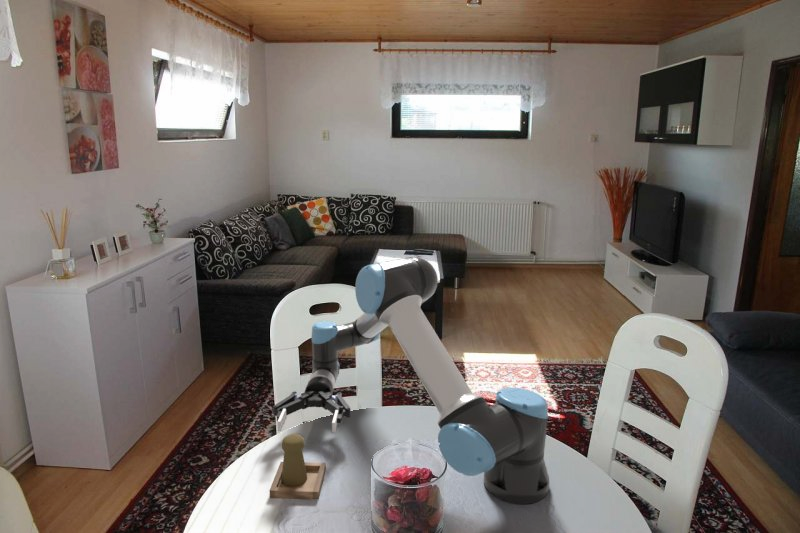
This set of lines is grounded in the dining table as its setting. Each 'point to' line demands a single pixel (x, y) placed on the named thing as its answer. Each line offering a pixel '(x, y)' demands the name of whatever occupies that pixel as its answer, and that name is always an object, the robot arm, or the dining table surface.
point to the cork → (293, 461)
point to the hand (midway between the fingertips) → (306, 427)
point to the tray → (303, 491)
